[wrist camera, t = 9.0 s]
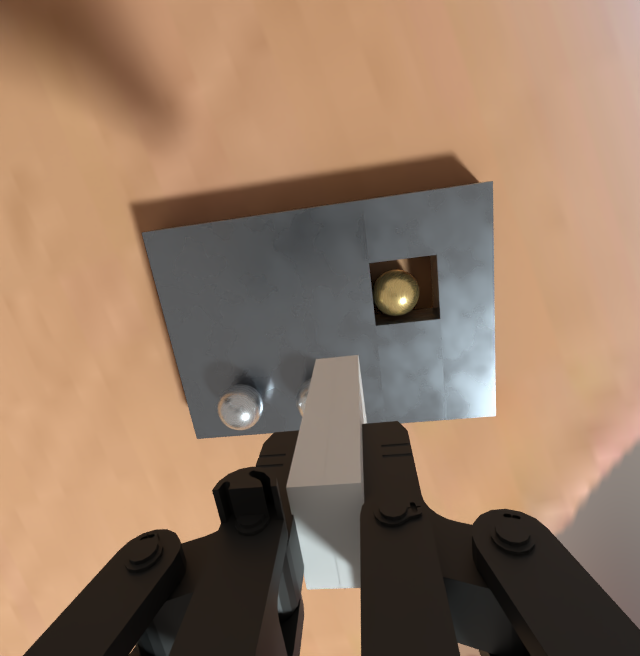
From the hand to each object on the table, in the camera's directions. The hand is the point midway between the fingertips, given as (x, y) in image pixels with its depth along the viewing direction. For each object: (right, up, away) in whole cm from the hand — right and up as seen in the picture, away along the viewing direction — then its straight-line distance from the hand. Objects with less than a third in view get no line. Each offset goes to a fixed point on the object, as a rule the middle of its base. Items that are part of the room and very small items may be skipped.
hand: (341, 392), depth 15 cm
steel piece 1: (-7, -4, +16) cm, 18 cm away
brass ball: (+5, +5, +16) cm, 17 cm away
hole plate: (0, +3, +18) cm, 19 cm away
